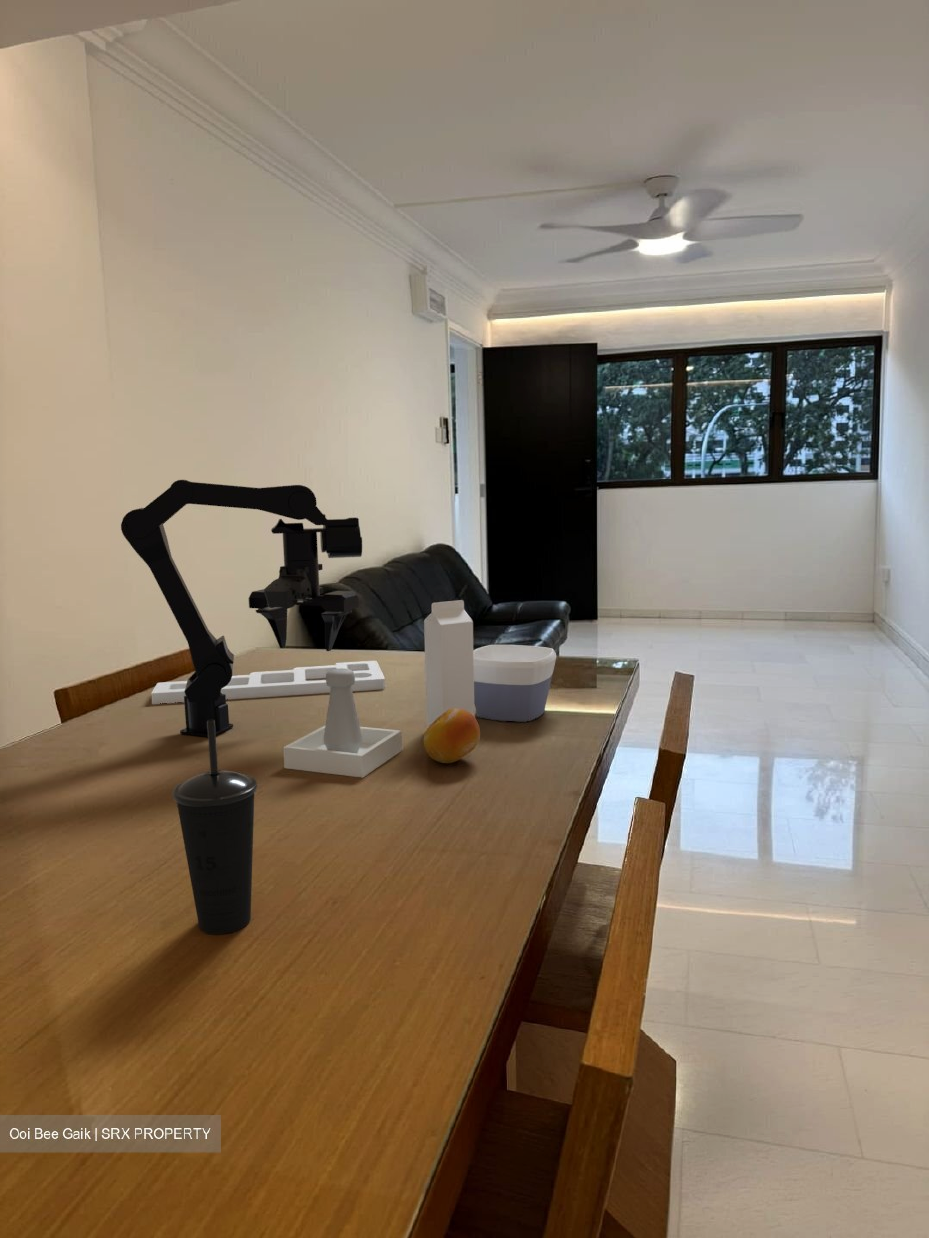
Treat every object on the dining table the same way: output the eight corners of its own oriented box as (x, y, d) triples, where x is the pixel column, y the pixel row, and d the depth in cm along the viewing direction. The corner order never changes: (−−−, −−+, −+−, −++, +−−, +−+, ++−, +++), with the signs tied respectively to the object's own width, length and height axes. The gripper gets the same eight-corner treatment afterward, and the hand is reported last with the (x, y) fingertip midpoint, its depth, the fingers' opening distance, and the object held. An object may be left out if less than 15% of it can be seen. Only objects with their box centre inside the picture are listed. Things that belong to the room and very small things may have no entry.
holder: (152, 707, 166) (150, 693, 166) (165, 685, 183) (164, 672, 183) (385, 691, 175) (385, 678, 174) (376, 672, 192) (376, 660, 192)
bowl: (455, 721, 151) (453, 658, 149) (486, 699, 165) (485, 642, 163) (539, 729, 145) (539, 664, 143) (564, 706, 159) (564, 647, 157)
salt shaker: (365, 757, 129) (361, 672, 127) (326, 761, 128) (322, 675, 125) (359, 746, 135) (356, 664, 132) (322, 749, 133) (318, 667, 131)
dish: (284, 768, 127) (283, 747, 127) (329, 742, 139) (328, 723, 139) (362, 777, 123) (361, 755, 122) (402, 750, 135) (401, 730, 134)
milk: (475, 734, 143) (473, 602, 139) (442, 739, 140) (440, 605, 136) (457, 725, 148) (455, 597, 144) (425, 730, 145) (423, 600, 142)
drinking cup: (193, 904, 87) (178, 711, 83) (270, 900, 87) (258, 708, 84) (174, 945, 79) (157, 734, 76) (259, 939, 80) (245, 730, 77)
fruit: (412, 760, 130) (411, 709, 128) (458, 749, 135) (457, 699, 134) (446, 775, 123) (444, 721, 122) (492, 762, 128) (491, 710, 127)
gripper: (226, 563, 143) (232, 655, 145) (324, 565, 136) (329, 662, 139) (265, 556, 153) (269, 643, 156) (358, 558, 146) (361, 649, 149)
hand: (305, 649), depth 149 cm, fingers open, 9 cm apart
